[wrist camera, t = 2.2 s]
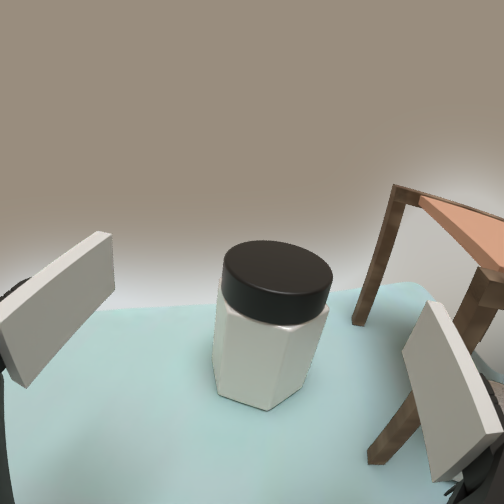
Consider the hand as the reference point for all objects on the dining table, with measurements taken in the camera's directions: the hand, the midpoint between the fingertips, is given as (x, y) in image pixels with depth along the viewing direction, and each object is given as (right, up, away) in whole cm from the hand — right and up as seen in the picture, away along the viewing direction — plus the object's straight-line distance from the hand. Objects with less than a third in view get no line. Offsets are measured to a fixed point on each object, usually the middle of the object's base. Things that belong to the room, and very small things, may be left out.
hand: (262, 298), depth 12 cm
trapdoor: (+23, +2, +9) cm, 25 cm away
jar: (0, -10, +16) cm, 19 cm away
